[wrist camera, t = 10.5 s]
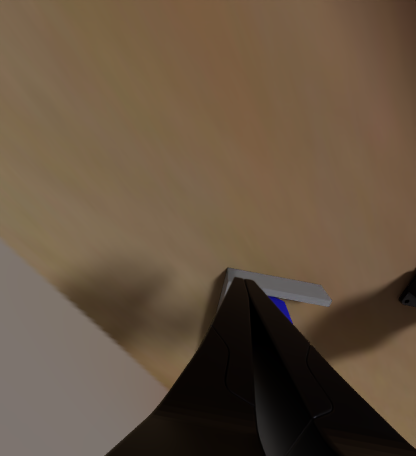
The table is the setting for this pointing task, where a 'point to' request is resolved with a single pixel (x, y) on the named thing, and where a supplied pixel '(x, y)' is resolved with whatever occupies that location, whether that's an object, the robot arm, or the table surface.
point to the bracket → (280, 287)
